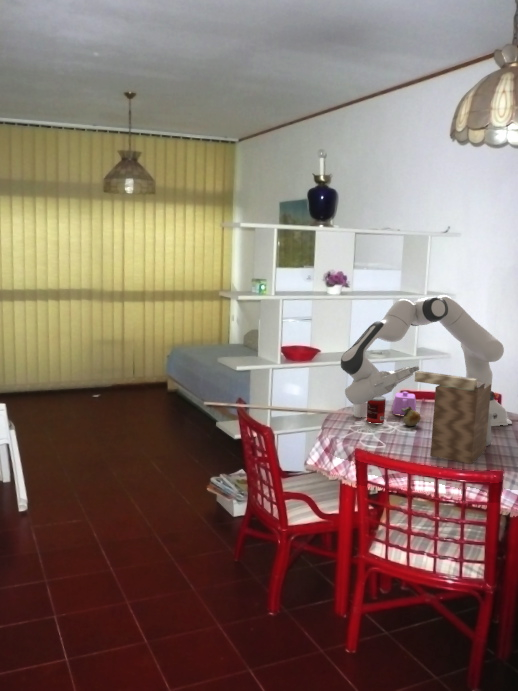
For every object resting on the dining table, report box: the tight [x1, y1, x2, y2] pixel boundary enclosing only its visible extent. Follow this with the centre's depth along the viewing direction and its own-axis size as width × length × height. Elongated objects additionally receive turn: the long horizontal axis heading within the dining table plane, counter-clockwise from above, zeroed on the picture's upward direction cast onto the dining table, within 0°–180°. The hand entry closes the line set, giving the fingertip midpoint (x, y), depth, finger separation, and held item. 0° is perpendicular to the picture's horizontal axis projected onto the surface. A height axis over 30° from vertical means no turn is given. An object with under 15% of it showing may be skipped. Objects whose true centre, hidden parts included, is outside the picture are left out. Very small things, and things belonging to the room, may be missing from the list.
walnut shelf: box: [430, 382, 492, 465], centre depth 252 cm, size 15×20×28 cm
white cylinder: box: [352, 401, 368, 418], centre depth 302 cm, size 7×7×7 cm
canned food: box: [366, 395, 387, 424], centre depth 293 cm, size 8×8×11 cm
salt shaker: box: [486, 412, 493, 447], centre depth 265 cm, size 6×6×13 cm
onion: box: [401, 407, 422, 427], centre depth 289 cm, size 8×8×8 cm
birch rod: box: [414, 370, 477, 390], centre depth 248 cm, size 22×4×4 cm, turn 58°
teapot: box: [391, 391, 417, 415], centre depth 309 cm, size 18×10×10 cm, turn 167°
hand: (414, 369), depth 254 cm, fingers open, 8 cm apart
